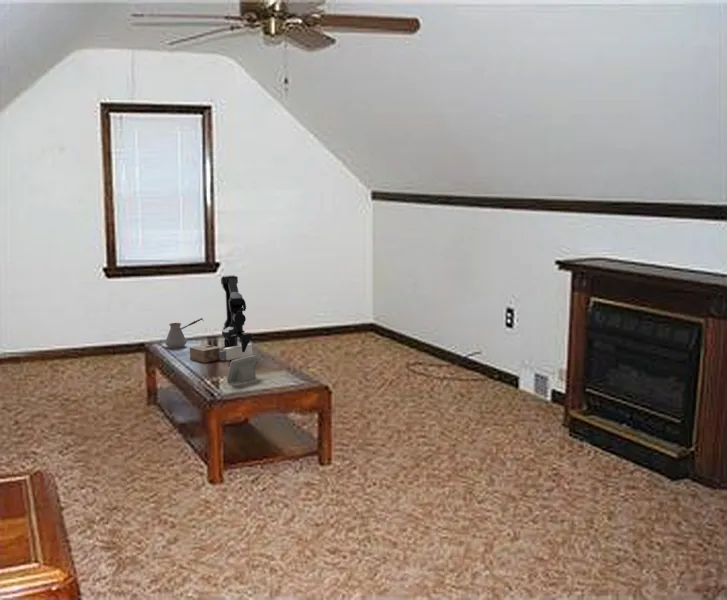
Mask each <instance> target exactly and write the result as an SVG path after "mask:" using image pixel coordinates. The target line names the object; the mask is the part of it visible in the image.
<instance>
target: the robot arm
mask: <svg viewBox="0 0 727 600" xmlns="http://www.w3.org/2000/svg"><path fill="white" fill-rule="evenodd" d="M238 279H239V278H238V276H236V275H232V274H231V275H223V276H222V277H221V278H220V285H222V286H221V288H222V289H223V291H225V309H226V312H225V313H226V320H225V321H224V323H223V328H222V330H221V336H222V338H223V339H224V340H223V343H224V345H223V347H222V348H227V347H232V346H237V345H239V344H238V338H239V342H240V345H242V352H245V350H246V348H247V345H248V343H249V344H250V341H252V339H254V335H253V333H251V332H245V330H244V329H243V328H244V326H245V322H246V320H247V318H246V316H245V314H244V313H243V312H246V310H247V304H246V300H245V299H244V298H243V295H242V294H241V293H240V292H239V288H238V285H237V284H239V281H238Z"/></svg>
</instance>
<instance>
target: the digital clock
mask: <svg viewBox="0 0 727 600" xmlns="http://www.w3.org/2000/svg"><path fill="white" fill-rule="evenodd" d="M257 361H258V356H257V355H256V354H252V355H250V356H246V357H241V358H236V359H232V360H231V362H230V365H229V368H228V373H227V377H226V381H227V382H228V383H232V382H234V383H235V382H236V383H239V384H240V383H241V384H243V383H247V382H250V381H253V380H256V375H257V374H256V365H257Z"/></svg>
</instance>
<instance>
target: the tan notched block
mask: <svg viewBox="0 0 727 600" xmlns="http://www.w3.org/2000/svg"><path fill="white" fill-rule="evenodd" d="M219 351H221V347H218V346H212V345H210V344H201V345H196V346H191V347H189V357H190V358H189V360H194V361H196V360H197V362H201V363H207V362H208V363H209V362H214V361H218V360H220V359H219Z"/></svg>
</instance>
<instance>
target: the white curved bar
mask: <svg viewBox="0 0 727 600" xmlns="http://www.w3.org/2000/svg"><path fill="white" fill-rule="evenodd" d="M222 348H223V347H222ZM252 355H253V344H252V343H250V342H249V343H248V345H247V348H246V350H245V352H242V345H241V344H238V345H237V346H232V347H227V348H223V350H220V351H219V360H225V361H230V360H231V361H232V360H236V359H240V358H244V357H248V356H252Z"/></svg>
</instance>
